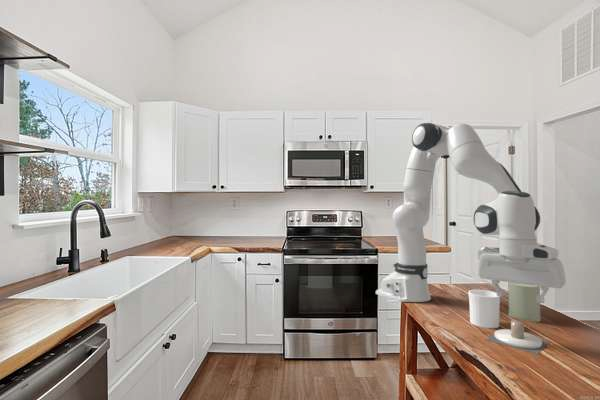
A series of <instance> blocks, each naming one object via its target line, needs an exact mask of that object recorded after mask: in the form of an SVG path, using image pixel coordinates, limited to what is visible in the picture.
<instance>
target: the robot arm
mask: <svg viewBox="0 0 600 400" xmlns="http://www.w3.org/2000/svg"><path fill="white" fill-rule="evenodd" d="M411 142H412V145H413V147H412V149H411V152H410V153H409V157H408V159H407V164H406V169H405V174H404V179H403V185H402V190H403V204H400V205H399V206H397V207H396V208H395V209H394V211H393V213H392V222H393V225H394V229H395V230H394V231H395V234H396V240H397V260H398V261H397V262H395V263H393V264H392V267H393V268H394V270H393V271H392V272H391V273H389V274H388V275H387V276H386V277H383V279H382V281H381V285H380V288H378V289H376V290H375V295H379V296H381V297H384V298H386V299H391V300H394V301H397V302H400V303H407V302H408V303H410V302H411V303H424V302H429V301H430V300H432V297H431V294H430V290H429V284H428V273H429V272H428V270H429V269H428V263H427V244H426V241H425V236H424V235H425V234H424V227H425V226H426V225H427V224H428V222H429V219H430V211H431V194H432V188H433V187H432V186H433V182H434V175H435V171H436V166H437V165H436V164H437V162H438V160H439V158H441V157H442V158H443V159H446V160H447V159H448V158H449V160H450V162H451V165H452V166H453V168H454V170H455V171H456V172H457V173H458V175H461V176H463V177H466V178H469V179H473V180H477V181H481V182H483V183H486V184H487V185H489V186H491V187H492V188H494V190H495V191H496V192H497V194H498V195H497V197H496V198H494V199H493V200H491V201H489V202H486V203H484V204H480V205H479V206H478V207H476V209H475V210H474V213H473V223H474V226H475V228H476V230H477V231H478V232H479V233H480V234H483V235H489V236H493V235H494V236H498V247H488V246H482V247H481V248H480V249H478V250H477V259H478V266H477V267H478V269H477V270H478V271H477V276H478V277H479V278H480V279H482V280H484V279H485V280H490V281H491V284H492V286H493V288H494V289H495V290H496V293H497V296H500V298H503V297H505V289H502V288H501V287H500V282H505V283H506V282H507V283H508V282H513V283H521V284H528V285H536V286H540V291H542V292H541V293H540V295H537V296H536V299H537V300H536V302H538V303H540V304H544V303H545V296H546V295H547V293H548V292H549V290H550V288H553V289H562V288H563V287H565V285H566V279H567V278H566V274H565V268H564V265H563V262H562V261H561V260H560V259H559V258H558V257H559V250H558V249H557V248H555V247H552V246H547V245H544V244H541V243H538V242H537V241H538V240H537V235H536V230H537V229H538V228H539V226H540V223H541V215H540V212H539V210H538V209H537V208H536V206H535V203H534V199H533V197H532V195H531V194H530V193H528V192H525V191H522V190H521V188H520V187H519V185H518V184H517V182H516V181H515V180H514V178H513V177H512V176H511V174H510V173H509V171H508V170H507V169H506V168H505V166H504V165H503V164H502V163H500V162H499V161H498V160H496V159H495V158H494V157H493V156H492V155H491V154H490V153H489V152H488V150H487V149H486V147H485V145H484V143H483V142H482V139H481V138H480V136H479V135H478V133H477V131H475V129H474V128H473V127H472V126H471V125H470V124H468V123H458V124H454V125H453V126H449V125H446V124H445V125H442V124H434V123H431V122H424V123H420V124H418V125H417V126H416V127H415V129H414V130H413V132H412V136H411Z"/></svg>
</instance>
